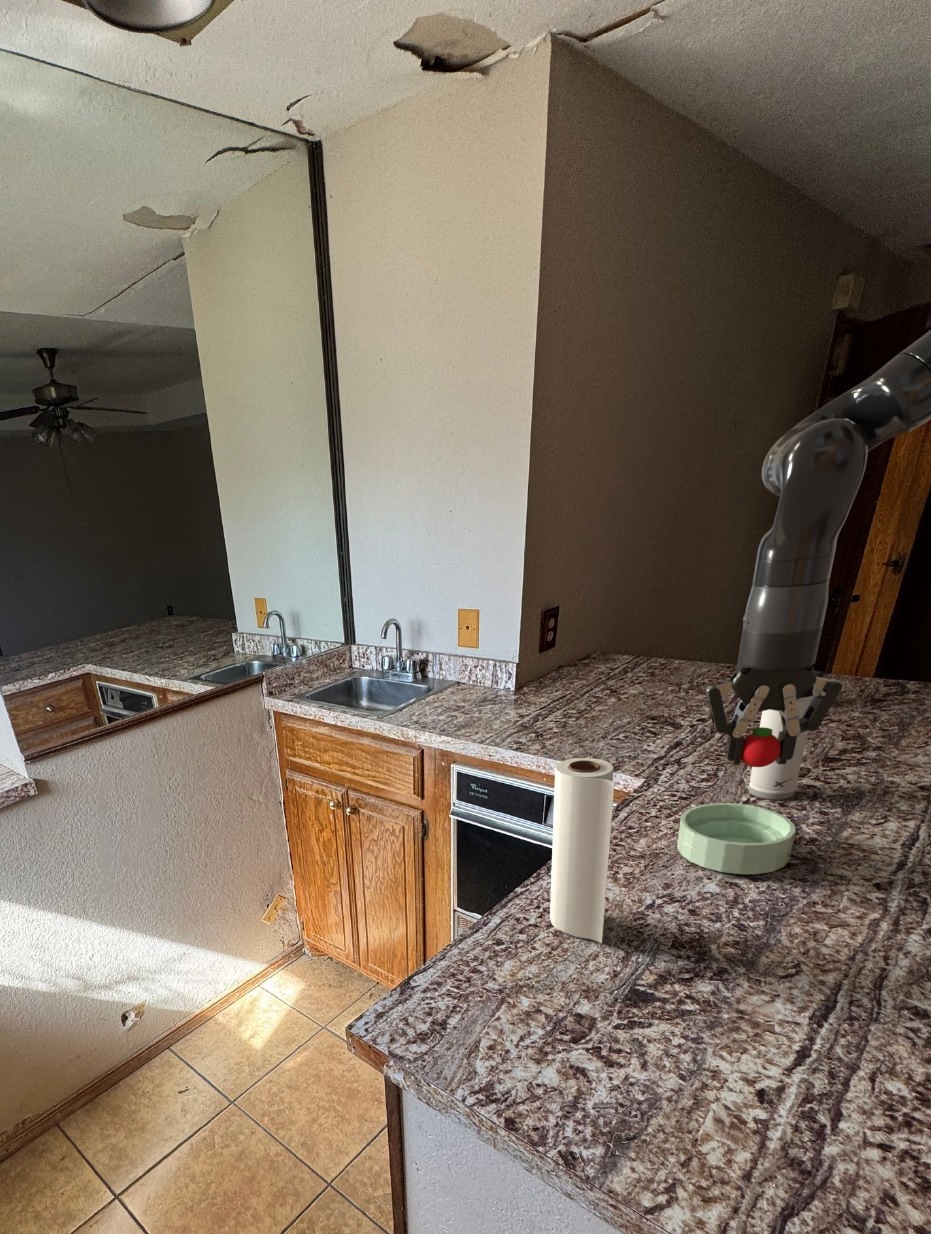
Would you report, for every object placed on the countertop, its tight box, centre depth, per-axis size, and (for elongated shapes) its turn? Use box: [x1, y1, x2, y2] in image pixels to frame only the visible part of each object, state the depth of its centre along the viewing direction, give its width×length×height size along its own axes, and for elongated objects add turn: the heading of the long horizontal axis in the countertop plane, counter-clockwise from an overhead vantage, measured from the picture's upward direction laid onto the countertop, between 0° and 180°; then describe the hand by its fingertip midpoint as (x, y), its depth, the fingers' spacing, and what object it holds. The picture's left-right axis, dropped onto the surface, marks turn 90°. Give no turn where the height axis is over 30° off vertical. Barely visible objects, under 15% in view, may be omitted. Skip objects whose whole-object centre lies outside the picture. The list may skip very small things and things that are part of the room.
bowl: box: [676, 802, 796, 875], centre depth 90 cm, size 13×13×5 cm
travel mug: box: [747, 670, 824, 801], centre depth 101 cm, size 6×7×20 cm
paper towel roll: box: [549, 757, 616, 944], centre depth 77 cm, size 7×6×21 cm
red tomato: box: [741, 726, 781, 768], centre depth 81 cm, size 4×4×5 cm
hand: (757, 761), depth 82 cm, fingers closed on red tomato, 4 cm apart
